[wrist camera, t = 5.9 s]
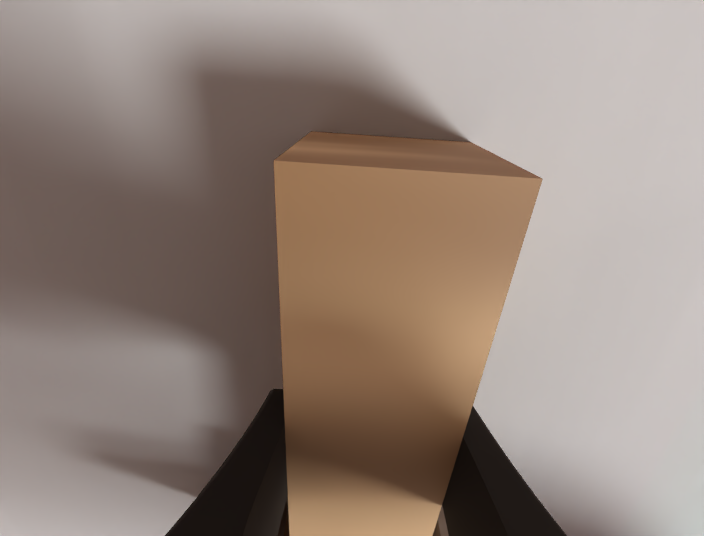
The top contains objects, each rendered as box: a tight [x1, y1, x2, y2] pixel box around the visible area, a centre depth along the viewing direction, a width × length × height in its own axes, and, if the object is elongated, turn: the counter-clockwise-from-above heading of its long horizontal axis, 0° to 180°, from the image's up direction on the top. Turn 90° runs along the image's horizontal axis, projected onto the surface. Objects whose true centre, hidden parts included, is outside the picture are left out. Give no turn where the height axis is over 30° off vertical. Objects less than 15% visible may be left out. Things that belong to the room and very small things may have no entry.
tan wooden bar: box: [274, 131, 542, 536], centre depth 10 cm, size 14×4×4 cm, turn 177°
